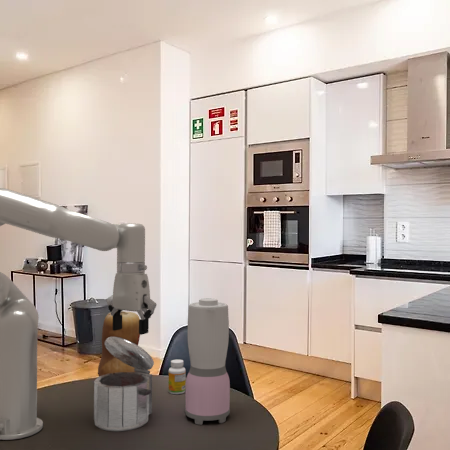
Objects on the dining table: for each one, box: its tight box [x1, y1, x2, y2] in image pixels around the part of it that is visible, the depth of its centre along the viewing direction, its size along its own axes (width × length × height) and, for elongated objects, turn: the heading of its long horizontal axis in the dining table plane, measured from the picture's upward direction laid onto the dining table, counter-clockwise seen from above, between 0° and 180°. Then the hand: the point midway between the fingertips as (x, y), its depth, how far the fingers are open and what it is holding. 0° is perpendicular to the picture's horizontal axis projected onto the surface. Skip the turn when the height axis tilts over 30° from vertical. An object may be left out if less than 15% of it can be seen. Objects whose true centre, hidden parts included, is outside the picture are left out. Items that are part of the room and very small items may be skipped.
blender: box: [184, 298, 231, 426], centre depth 138 cm, size 16×12×32 cm
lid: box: [105, 337, 155, 374], centre depth 136 cm, size 16×15×2 cm
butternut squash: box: [97, 310, 141, 377], centre depth 158 cm, size 14×13×25 cm
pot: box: [93, 372, 153, 432], centre depth 134 cm, size 16×18×11 cm
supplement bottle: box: [167, 359, 187, 395], centre depth 157 cm, size 5×5×10 cm
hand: (130, 331), depth 136 cm, fingers open, 9 cm apart
